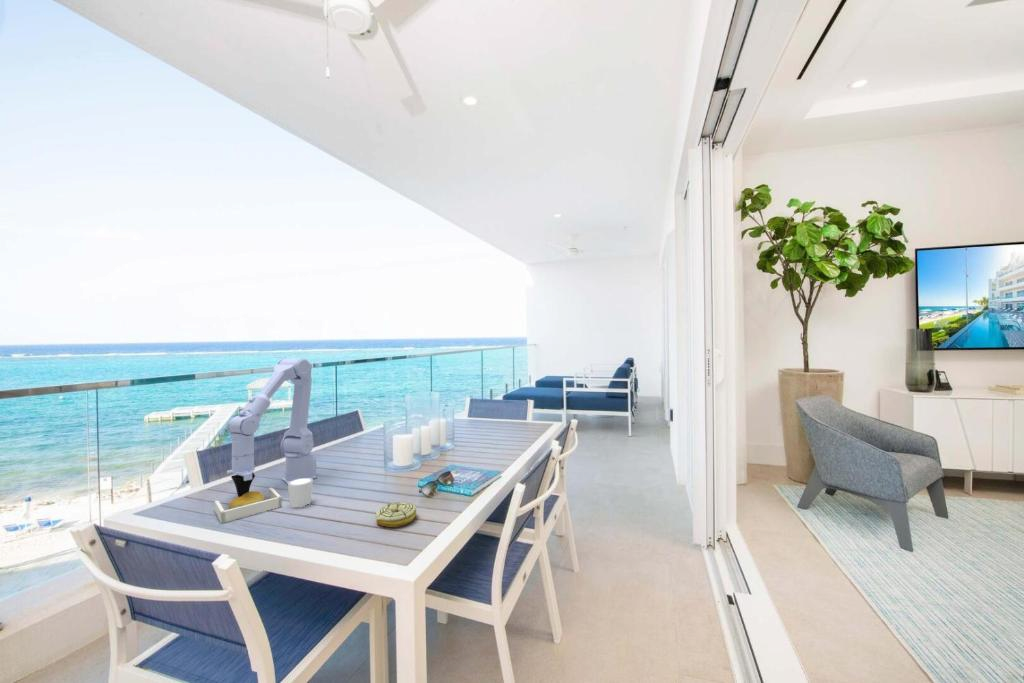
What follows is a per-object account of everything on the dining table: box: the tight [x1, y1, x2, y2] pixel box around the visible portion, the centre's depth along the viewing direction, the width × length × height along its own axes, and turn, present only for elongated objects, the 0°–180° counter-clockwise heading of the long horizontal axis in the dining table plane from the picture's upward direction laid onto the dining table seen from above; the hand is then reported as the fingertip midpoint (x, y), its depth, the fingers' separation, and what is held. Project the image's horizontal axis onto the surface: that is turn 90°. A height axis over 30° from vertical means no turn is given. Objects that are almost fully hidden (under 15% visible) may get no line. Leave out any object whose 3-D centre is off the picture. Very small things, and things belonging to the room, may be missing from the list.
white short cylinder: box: [287, 478, 314, 508], centre depth 116 cm, size 7×7×7 cm
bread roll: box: [228, 491, 267, 510], centre depth 114 cm, size 8×9×4 cm
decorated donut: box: [375, 501, 417, 528], centre depth 106 cm, size 10×11×4 cm
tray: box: [214, 487, 283, 524], centre depth 113 cm, size 15×11×3 cm
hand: (243, 497), depth 118 cm, fingers closed
